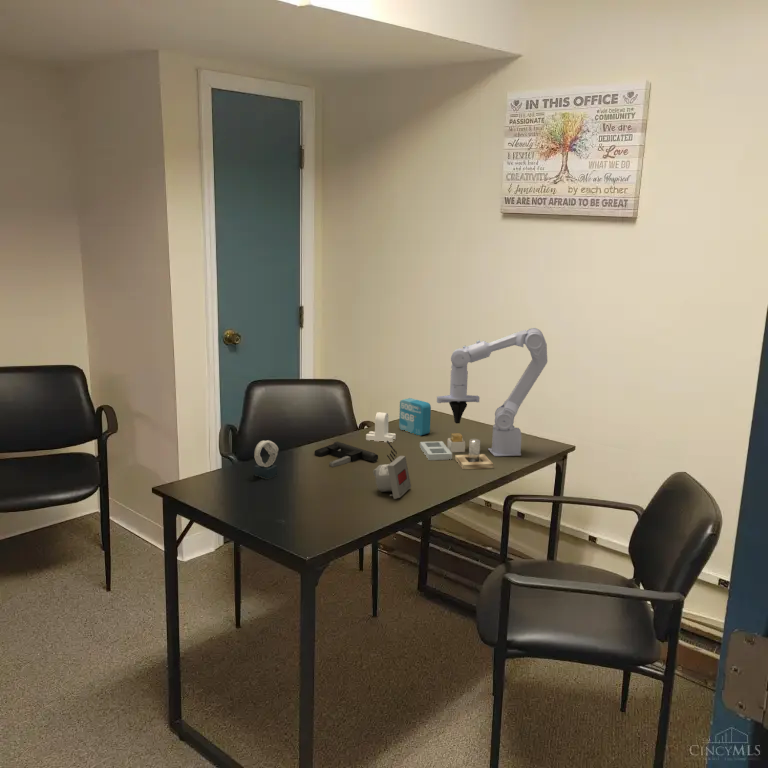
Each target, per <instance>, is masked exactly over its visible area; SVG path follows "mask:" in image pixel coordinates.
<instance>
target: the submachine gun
mask: <svg viewBox="0 0 768 768" xmlns="http://www.w3.org/2000/svg"><path fill="white" fill-rule="evenodd" d="M327 455H330V456H333V457H336V458H338V459H335V460H332V461H330V462H328V463H329V467H332V468H335V467H339V466H341V465H344V464H348V463H353V462H357V461H361V460H365V461H368V462H370V463H376V462H378V460H379V455H378V454H377V453H375V452H372V451H368V450H365V449H362V448H359V447H357V446H352V445H350V444H346V443H344V442H340V441H335V442H333V443H332V444H329V445H326V446H324V447H320V448H318V449H316V450H314V456H316V457H324V456H327Z"/></svg>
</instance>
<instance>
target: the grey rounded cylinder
mask: <svg viewBox="0 0 768 768" xmlns="http://www.w3.org/2000/svg"><path fill="white" fill-rule="evenodd" d="M468 443H469V444H468V445H469V446H468V455H469V461H468V462H479V457H480V454H481V453H480V452H481V440H480V439H478V438H470V439H469V442H468Z"/></svg>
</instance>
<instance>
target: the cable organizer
mask: <svg viewBox="0 0 768 768" xmlns="http://www.w3.org/2000/svg"><path fill="white" fill-rule="evenodd" d="M393 439H395V440H396V439H397V437H396V433H394V432H393V433H391V432H389V413H388V412H379V411H376V415H375V418H374V431H372V430H370V431H369V432H368V433H366V434H365V440H366V441H370V440H374V441H373V442H379V441H384V442H383V443H387V441H389V442H392V443H393V442H394V440H393Z"/></svg>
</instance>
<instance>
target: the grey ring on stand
mask: <svg viewBox="0 0 768 768" xmlns="http://www.w3.org/2000/svg"><path fill="white" fill-rule="evenodd" d="M263 448H264V450H265V451H266V452H267V453H268V455H269V457H268V459H267V461H266V462H264V461H263V459H262V456H261V451H262V449H263ZM278 453H279V447H278V445H277V444H276V443H275V442H273V441H272V440H269V439H268V440H260V441H259V442H258V443H257V444H256V446H255V448H254V454H253V455H254V456H253V457H254V459H255V462H256V464H257V465H256V464H255V465H254V466H253V475H254V474H256V475H258V476H262V477H265V478H270V477H273V476H275V475H277V476H278V466H277V465H275V464H274V463H275V461H276V459H277V456H278ZM275 477H276V476H275ZM273 478H274V477H273ZM270 479H271V478H270Z"/></svg>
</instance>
